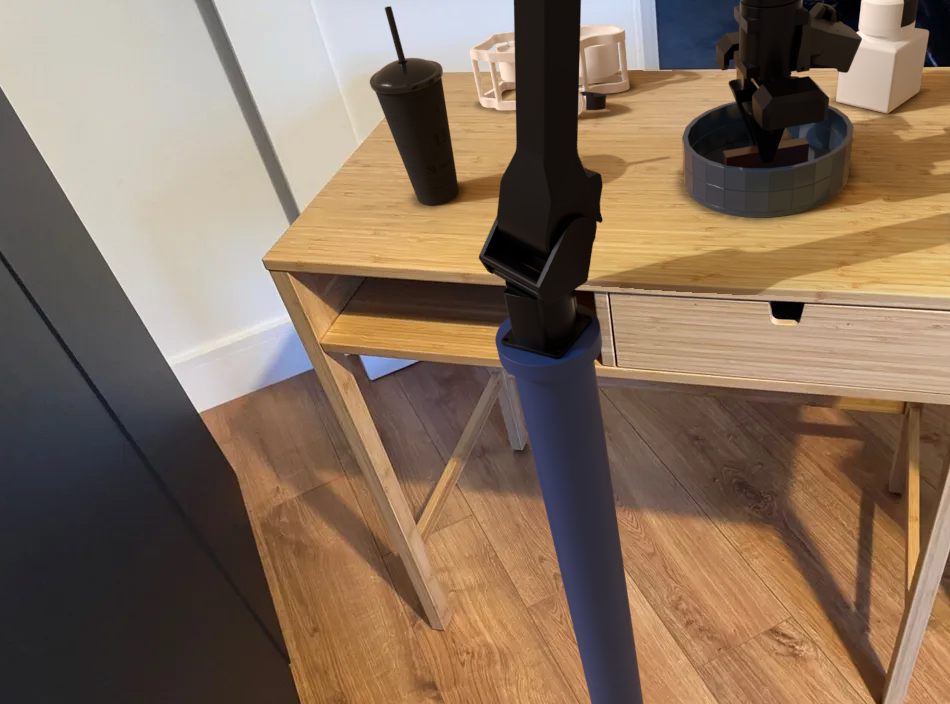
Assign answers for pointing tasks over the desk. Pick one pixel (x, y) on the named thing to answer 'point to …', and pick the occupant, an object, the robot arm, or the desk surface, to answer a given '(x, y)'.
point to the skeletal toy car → (593, 67)
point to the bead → (786, 135)
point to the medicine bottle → (885, 57)
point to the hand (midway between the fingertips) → (765, 158)
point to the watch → (591, 101)
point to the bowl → (764, 186)
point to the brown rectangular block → (785, 156)
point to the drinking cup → (418, 121)
